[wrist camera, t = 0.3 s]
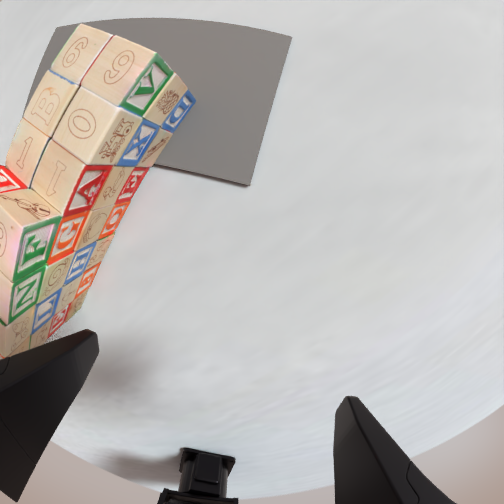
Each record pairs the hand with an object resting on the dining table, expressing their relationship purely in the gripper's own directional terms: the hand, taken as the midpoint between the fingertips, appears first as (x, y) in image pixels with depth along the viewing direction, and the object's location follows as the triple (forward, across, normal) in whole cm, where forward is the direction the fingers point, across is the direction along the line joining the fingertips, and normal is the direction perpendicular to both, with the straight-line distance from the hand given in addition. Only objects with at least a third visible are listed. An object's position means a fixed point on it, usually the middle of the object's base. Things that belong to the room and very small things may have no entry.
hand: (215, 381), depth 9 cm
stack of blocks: (+13, +13, -2) cm, 19 cm away
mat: (+14, +13, -12) cm, 23 cm away
